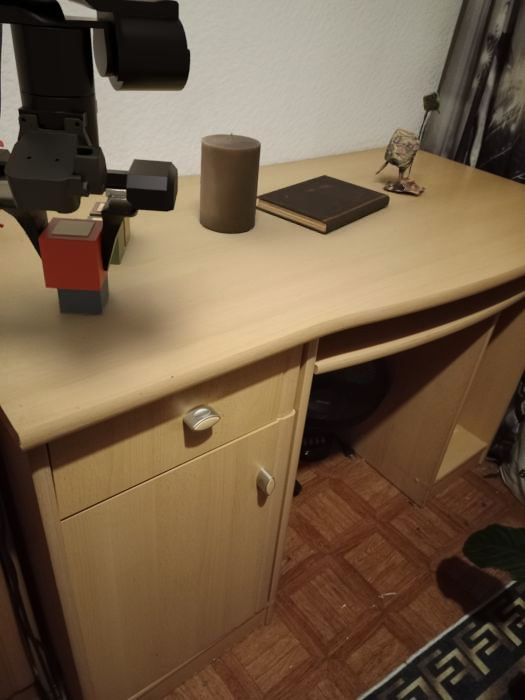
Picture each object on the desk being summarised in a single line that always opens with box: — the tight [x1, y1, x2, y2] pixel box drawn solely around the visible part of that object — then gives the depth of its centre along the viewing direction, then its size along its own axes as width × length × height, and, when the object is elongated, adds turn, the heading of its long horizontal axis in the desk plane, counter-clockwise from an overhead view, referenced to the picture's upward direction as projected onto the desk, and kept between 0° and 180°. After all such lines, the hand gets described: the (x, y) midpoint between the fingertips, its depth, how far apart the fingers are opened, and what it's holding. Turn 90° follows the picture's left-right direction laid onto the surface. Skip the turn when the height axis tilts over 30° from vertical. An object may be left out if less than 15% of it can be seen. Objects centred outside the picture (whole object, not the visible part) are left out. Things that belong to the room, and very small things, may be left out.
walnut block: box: [89, 201, 131, 248], centre depth 83 cm, size 5×5×5 cm
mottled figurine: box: [374, 91, 441, 195], centre depth 114 cm, size 8×11×20 cm
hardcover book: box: [256, 174, 391, 235], centre depth 105 cm, size 16×23×2 cm
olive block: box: [86, 215, 126, 265], centre depth 78 cm, size 5×5×5 cm
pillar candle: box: [199, 132, 262, 234], centre depth 90 cm, size 10×10×15 cm
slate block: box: [56, 273, 110, 316], centre depth 66 cm, size 5×5×5 cm
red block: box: [38, 217, 110, 291], centre depth 51 cm, size 5×5×5 cm
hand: (77, 267), depth 52 cm, fingers closed on red block, 5 cm apart
